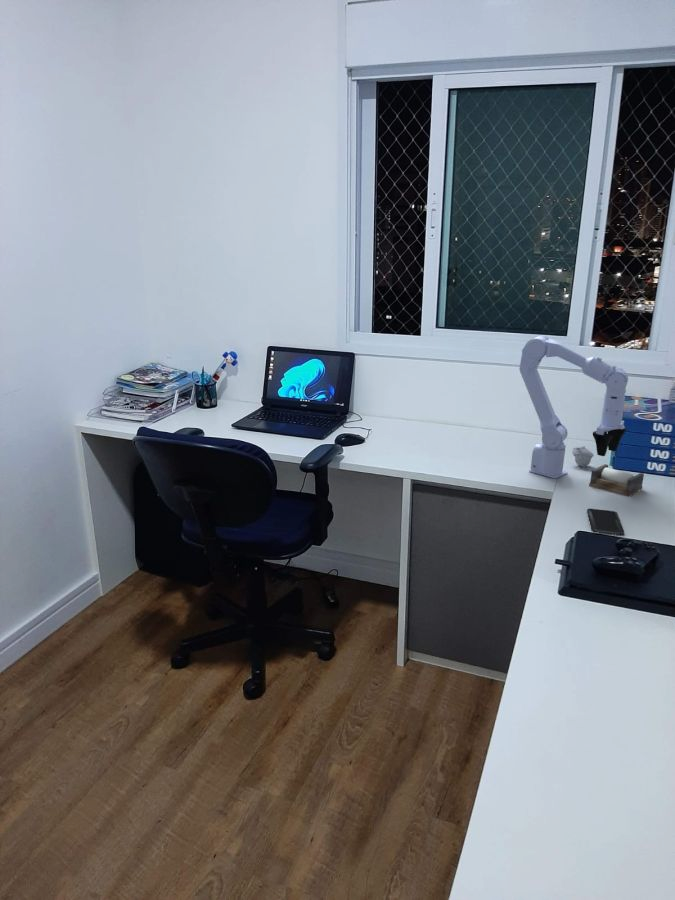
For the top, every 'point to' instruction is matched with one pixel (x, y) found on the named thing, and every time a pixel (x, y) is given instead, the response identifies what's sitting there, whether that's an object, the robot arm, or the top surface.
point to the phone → (605, 521)
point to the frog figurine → (582, 455)
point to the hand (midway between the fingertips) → (606, 453)
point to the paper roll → (616, 476)
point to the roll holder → (628, 490)
